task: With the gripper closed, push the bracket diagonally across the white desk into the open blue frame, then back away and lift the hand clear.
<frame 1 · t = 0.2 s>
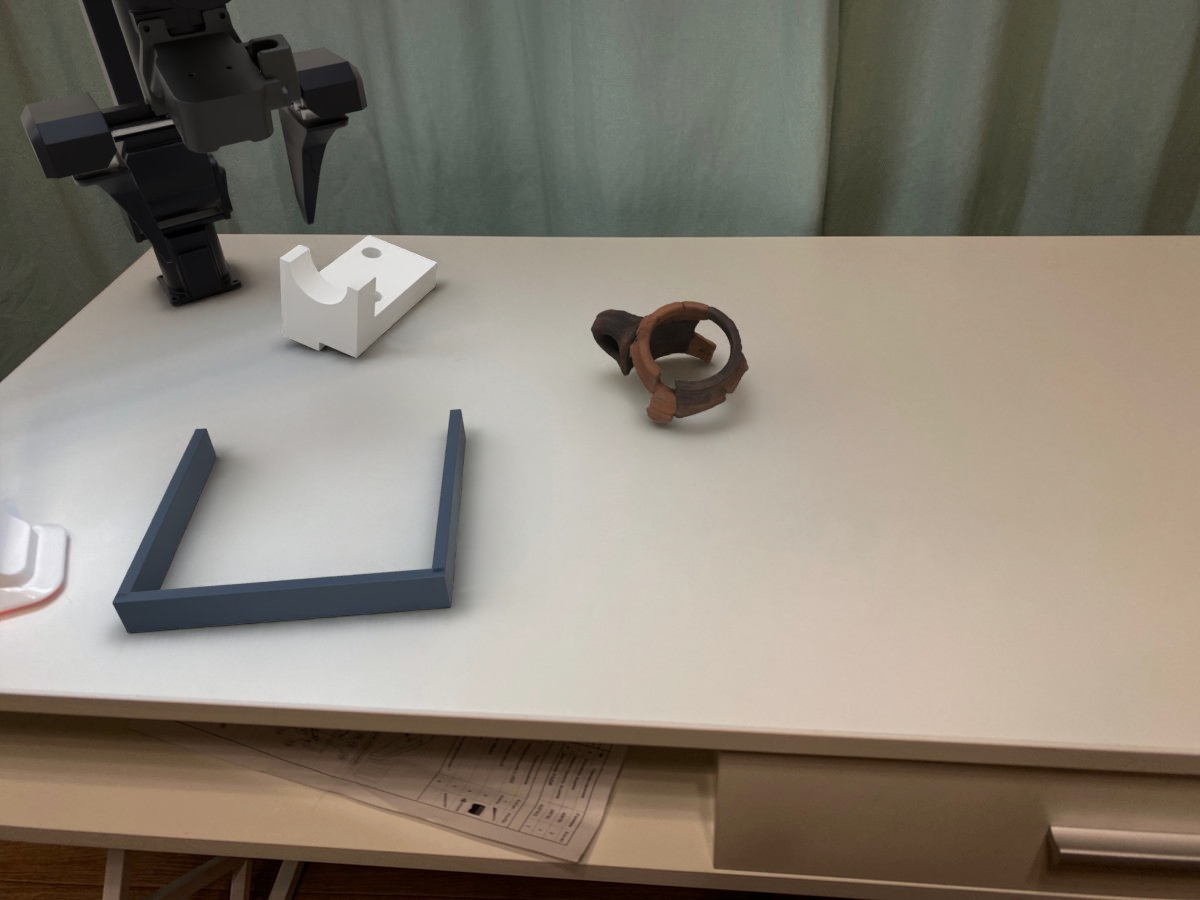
hand: (240, 241, 61), 15 cm above the table, tool pointing down, fingers open, 9 cm apart
bracket: (372, 317, 83), on the table
pottery mug: (667, 391, 71), on the table
open blue frame: (316, 520, 61), on the table
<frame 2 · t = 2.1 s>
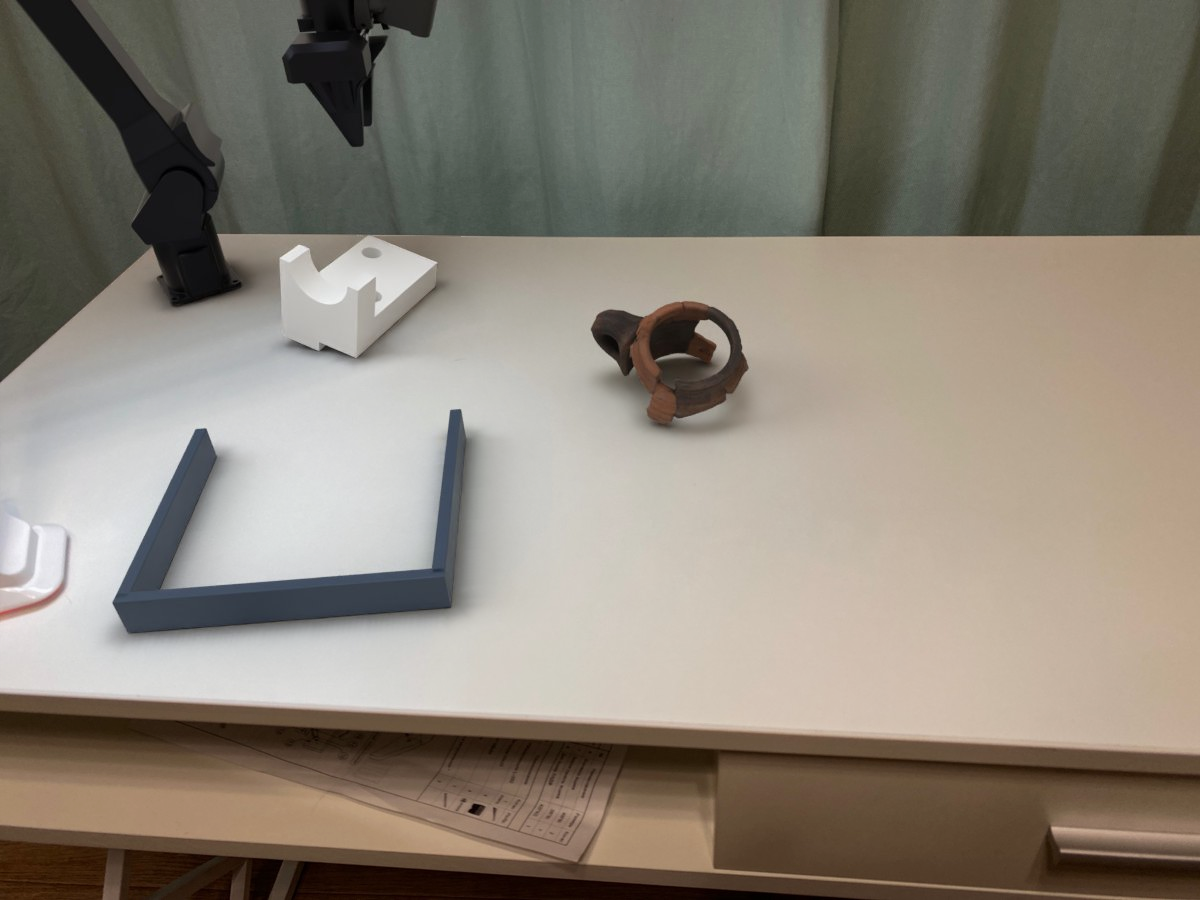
hand: (362, 135, 85), 12 cm above the table, tool pointing down, fingers open, 5 cm apart
nothing on the table moved.
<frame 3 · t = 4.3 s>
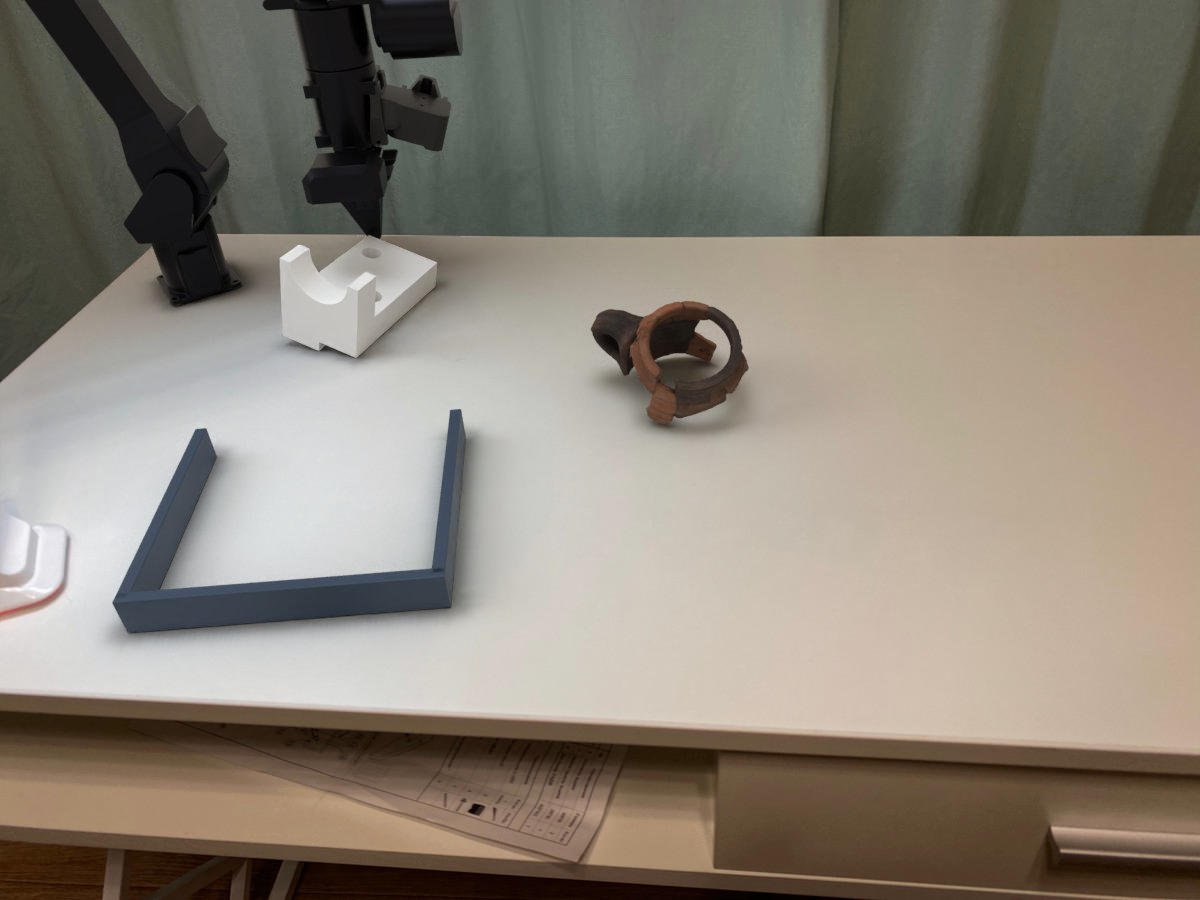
hand: (375, 238, 87), 4 cm above the table, tool pointing down, fingers closed
bracket: (372, 317, 83), on the table, touching gripper
everything else where it was.
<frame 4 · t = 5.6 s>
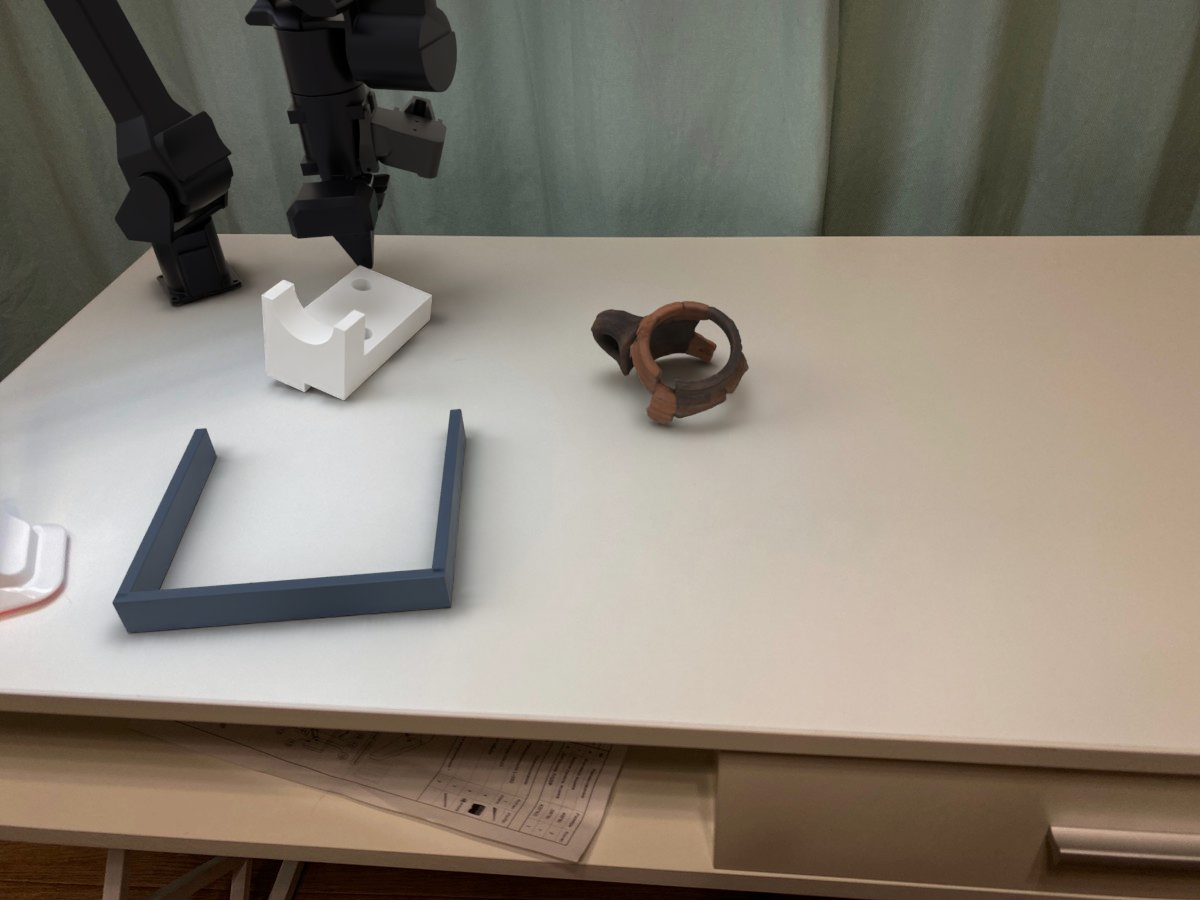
hand: (367, 268, 82), 4 cm above the table, tool pointing down, fingers closed
bracket: (362, 354, 78), on the table, touching gripper
everything else where it was.
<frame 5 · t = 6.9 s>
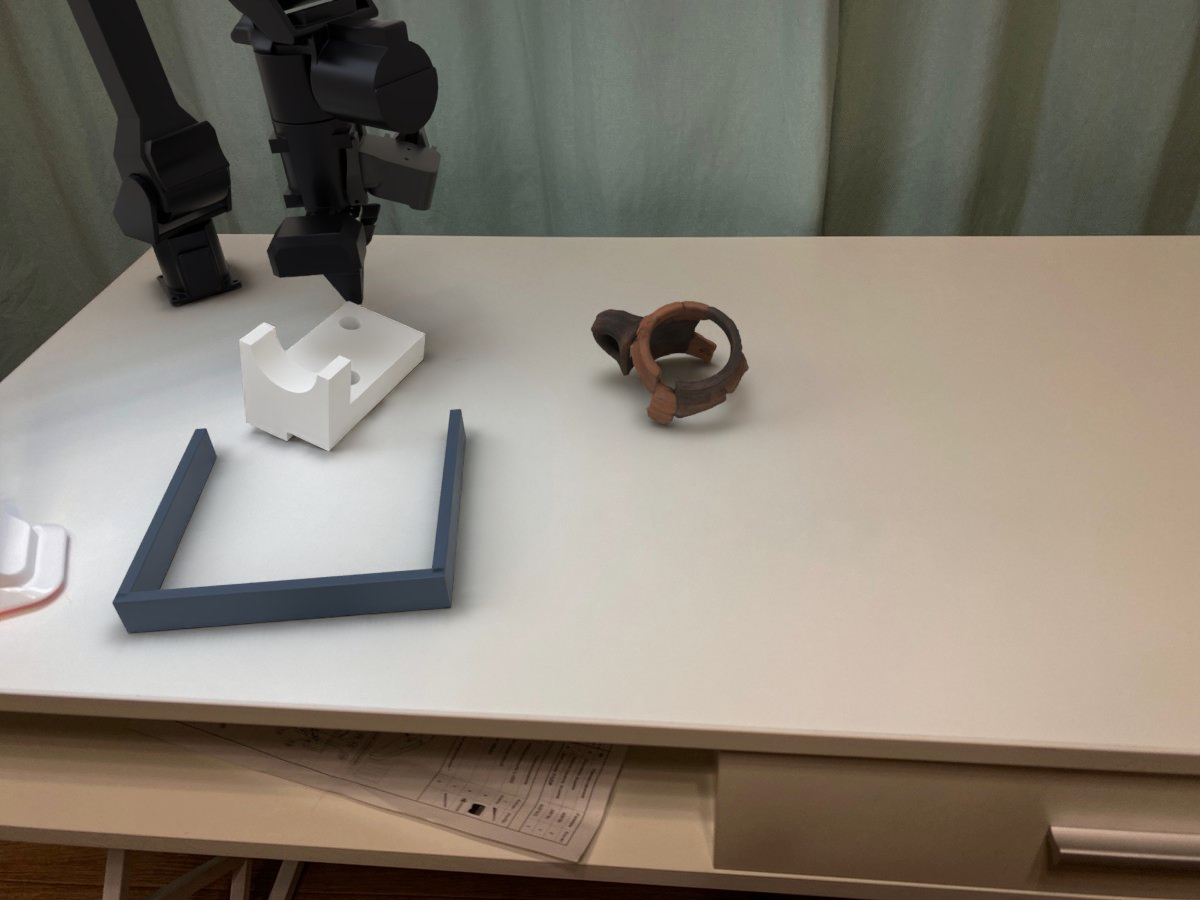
hand: (356, 303, 77), 4 cm above the table, tool pointing down, fingers closed
bracket: (350, 398, 73), on the table, touching gripper
everything else where it was.
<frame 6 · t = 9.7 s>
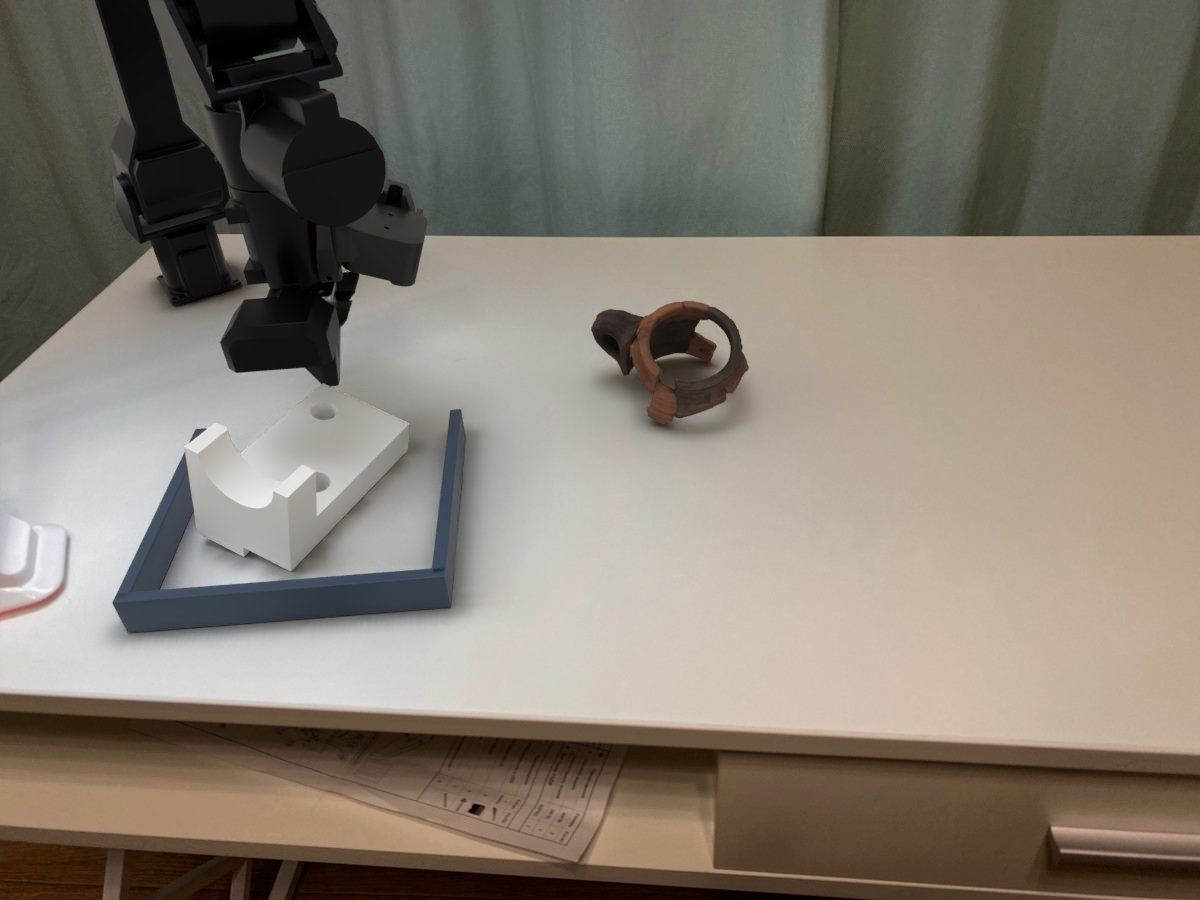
hand: (332, 384, 67), 4 cm above the table, tool pointing down, fingers closed
bracket: (321, 499, 63), on the table, touching gripper
everything else where it was.
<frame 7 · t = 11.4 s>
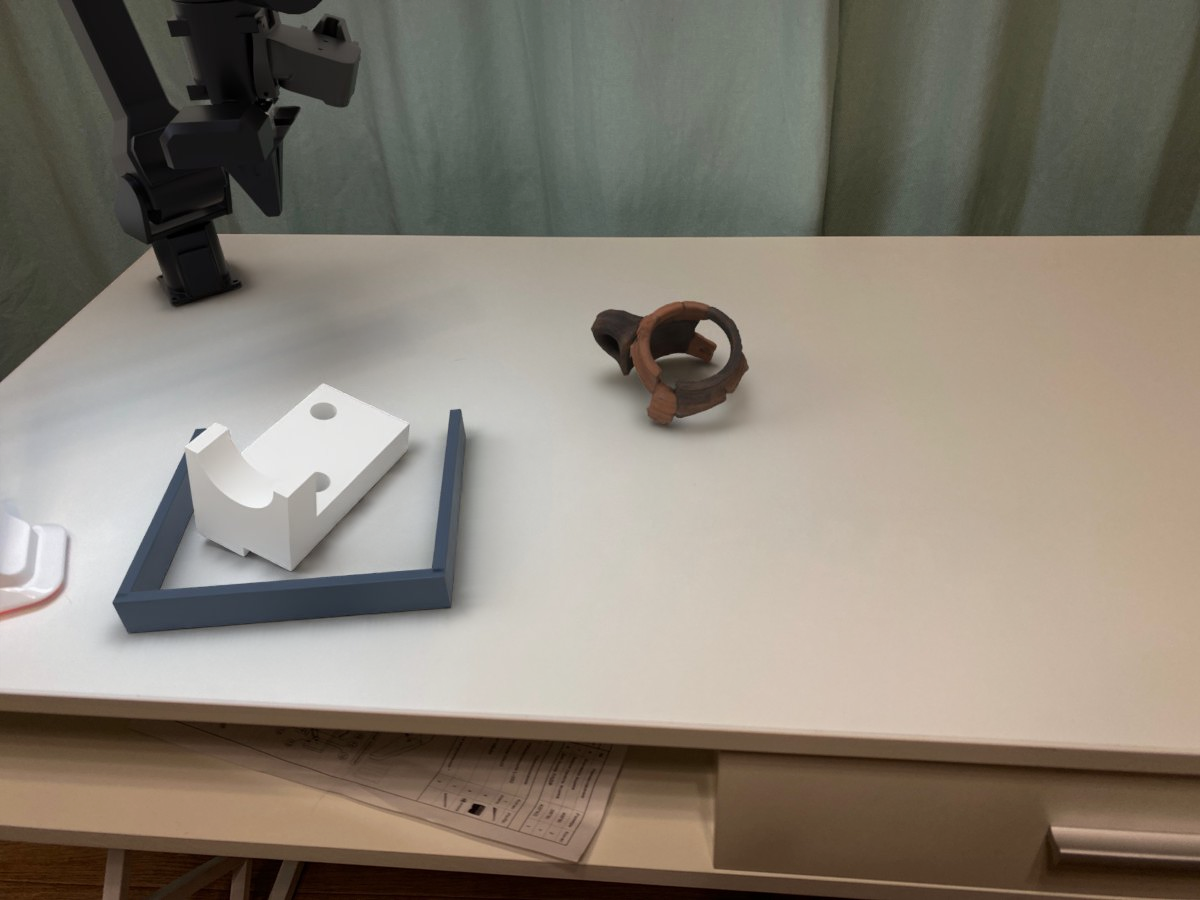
hand: (274, 214, 72), 12 cm above the table, tool pointing down, fingers closed
bracket: (321, 499, 63), on the table
everything else where it was.
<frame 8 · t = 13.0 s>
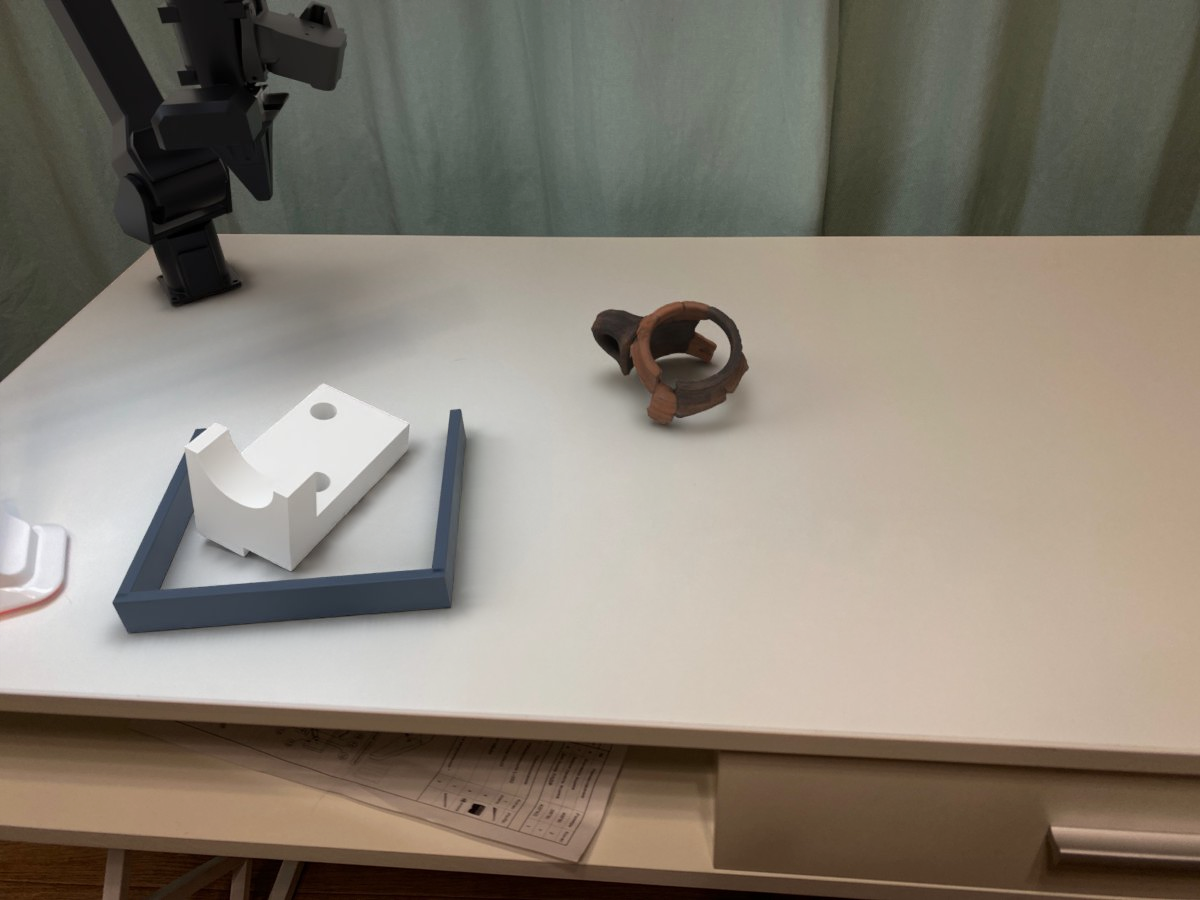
hand: (265, 199, 74), 12 cm above the table, tool pointing down, fingers closed
nothing on the table moved.
at the end: bracket 2.4 cm from the open blue frame (horizontally); bracket tilted 0° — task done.
